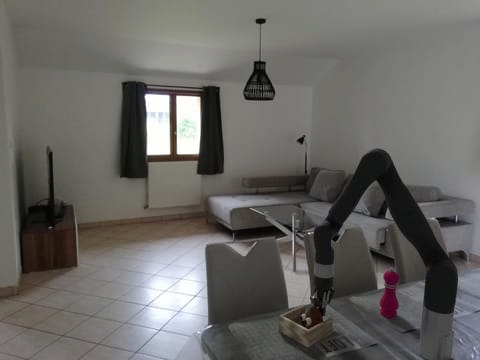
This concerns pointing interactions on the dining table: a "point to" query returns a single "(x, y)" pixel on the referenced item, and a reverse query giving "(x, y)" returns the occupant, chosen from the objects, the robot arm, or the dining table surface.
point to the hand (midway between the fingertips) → (321, 315)
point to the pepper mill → (389, 295)
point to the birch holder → (301, 333)
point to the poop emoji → (311, 317)
